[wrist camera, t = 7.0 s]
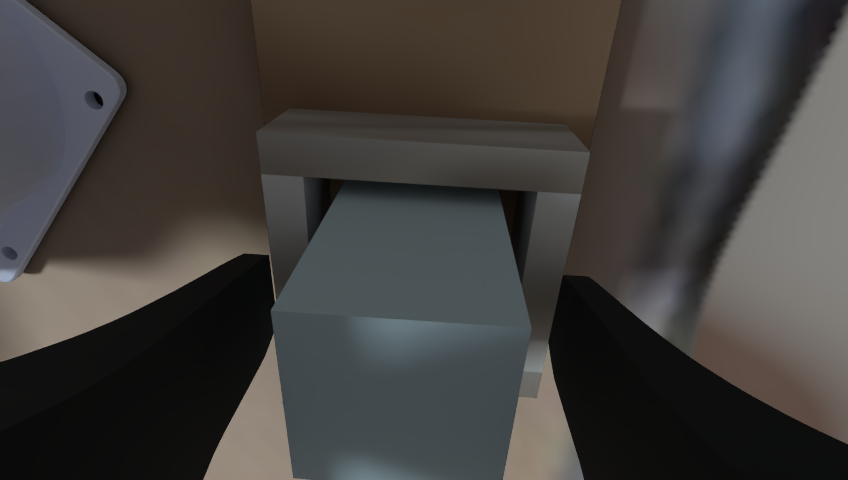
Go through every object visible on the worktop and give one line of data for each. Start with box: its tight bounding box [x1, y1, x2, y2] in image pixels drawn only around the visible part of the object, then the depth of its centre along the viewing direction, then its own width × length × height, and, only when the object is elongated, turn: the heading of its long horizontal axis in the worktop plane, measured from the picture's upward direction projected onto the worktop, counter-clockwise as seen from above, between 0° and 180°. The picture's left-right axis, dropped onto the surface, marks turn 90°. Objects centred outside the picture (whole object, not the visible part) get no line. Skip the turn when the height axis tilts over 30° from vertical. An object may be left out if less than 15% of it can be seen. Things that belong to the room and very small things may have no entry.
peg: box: [271, 180, 532, 480], centre depth 11 cm, size 4×4×7 cm
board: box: [251, 0, 622, 398], centre depth 12 cm, size 14×9×4 cm, turn 177°
